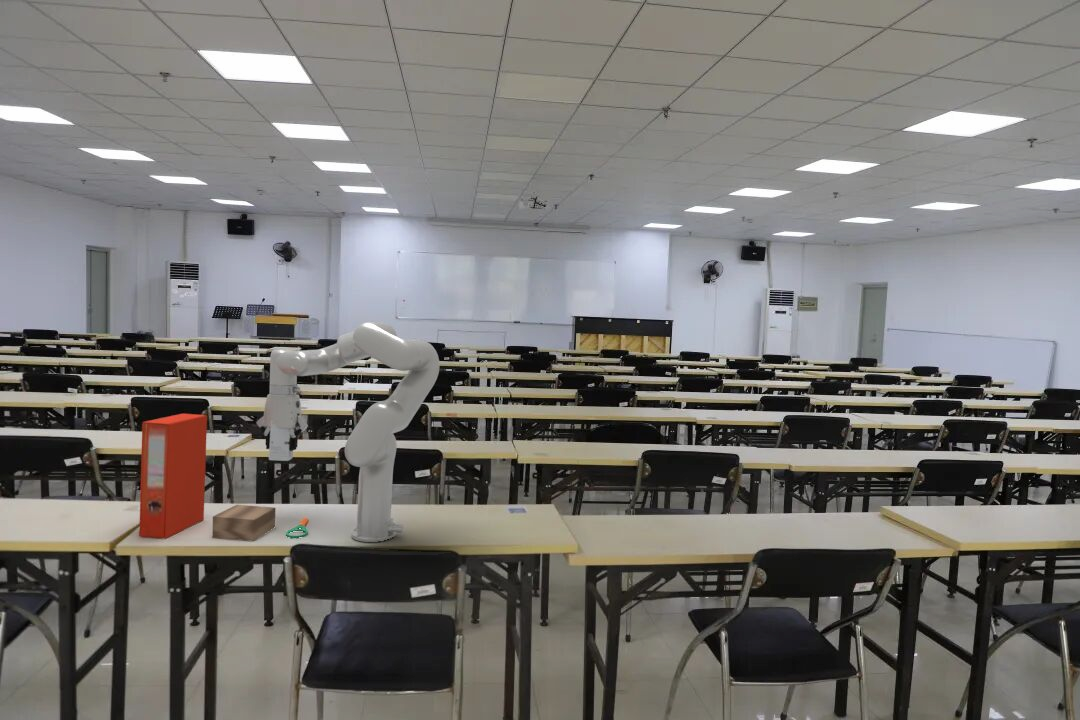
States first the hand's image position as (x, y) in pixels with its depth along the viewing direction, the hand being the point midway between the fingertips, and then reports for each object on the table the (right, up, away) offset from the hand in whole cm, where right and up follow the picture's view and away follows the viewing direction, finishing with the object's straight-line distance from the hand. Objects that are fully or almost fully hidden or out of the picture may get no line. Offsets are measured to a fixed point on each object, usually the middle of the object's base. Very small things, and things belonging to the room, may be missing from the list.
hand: (281, 448), depth 193 cm
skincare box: (0, -3, 0) cm, 3 cm away
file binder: (-28, -22, -9) cm, 36 cm away
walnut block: (-7, -23, -9) cm, 26 cm away
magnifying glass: (+7, -24, -5) cm, 25 cm away
